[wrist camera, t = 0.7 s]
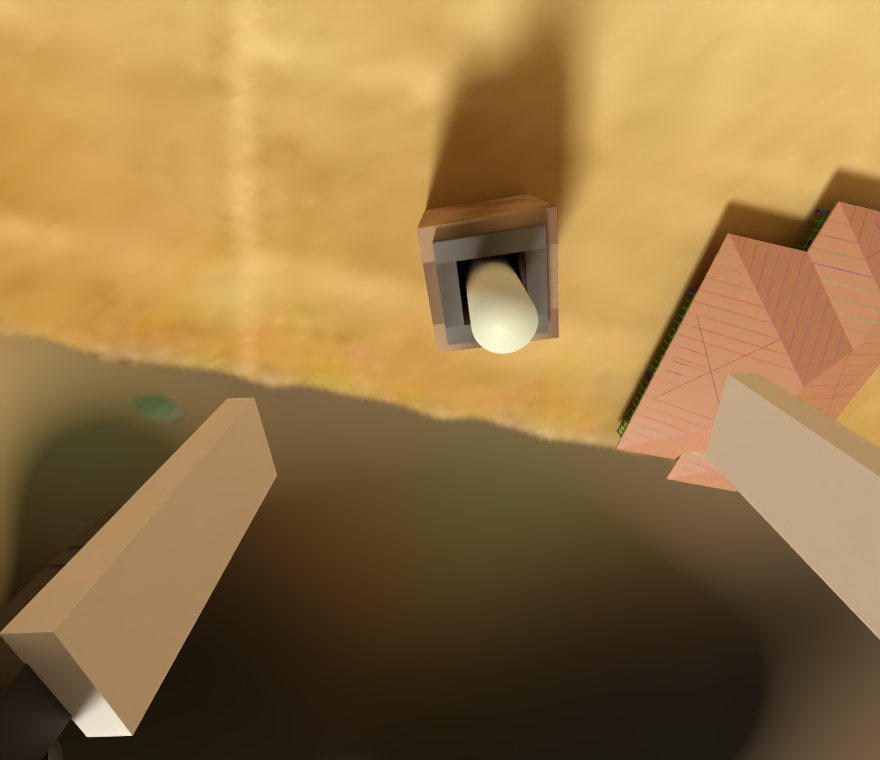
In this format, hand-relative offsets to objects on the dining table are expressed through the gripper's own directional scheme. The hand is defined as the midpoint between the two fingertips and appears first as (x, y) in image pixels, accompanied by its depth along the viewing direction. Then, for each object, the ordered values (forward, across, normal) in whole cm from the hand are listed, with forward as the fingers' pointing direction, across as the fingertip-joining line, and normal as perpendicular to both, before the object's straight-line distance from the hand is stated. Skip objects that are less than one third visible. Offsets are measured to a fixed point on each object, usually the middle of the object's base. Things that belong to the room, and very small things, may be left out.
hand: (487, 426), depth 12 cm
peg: (+26, +3, -1) cm, 26 cm away
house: (+34, +34, -14) cm, 50 cm away
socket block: (+34, +3, -1) cm, 34 cm away
